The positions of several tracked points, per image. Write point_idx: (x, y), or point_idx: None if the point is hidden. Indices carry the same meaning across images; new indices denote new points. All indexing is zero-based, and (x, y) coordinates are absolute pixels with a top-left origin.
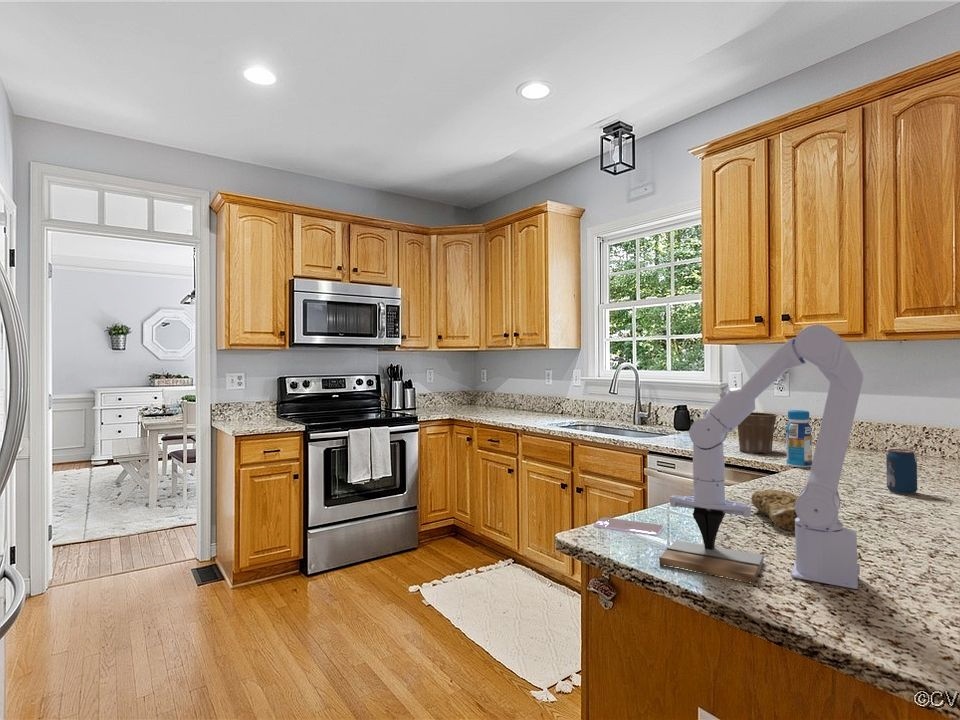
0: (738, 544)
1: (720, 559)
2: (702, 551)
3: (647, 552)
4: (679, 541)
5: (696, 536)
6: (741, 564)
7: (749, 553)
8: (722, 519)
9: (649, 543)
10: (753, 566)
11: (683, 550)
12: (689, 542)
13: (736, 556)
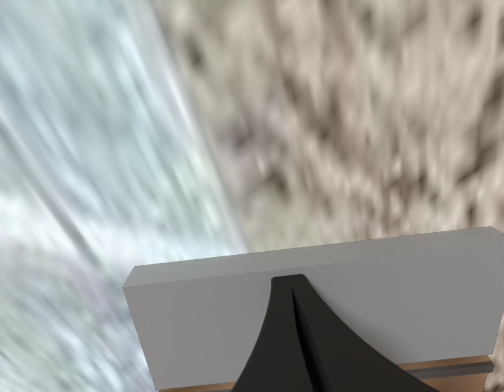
0: (371, 18)
1: None
2: None
3: (90, 372)
4: (144, 295)
5: (116, 22)
6: (432, 385)
7: (459, 260)
8: (413, 376)
9: (24, 290)
10: (472, 380)
11: (214, 380)
12: (187, 282)
13: (409, 327)
